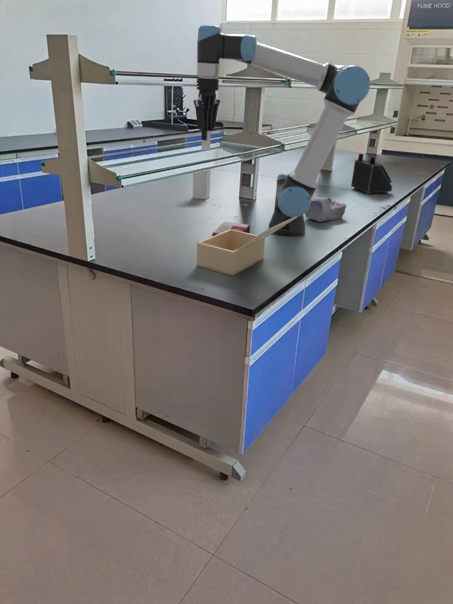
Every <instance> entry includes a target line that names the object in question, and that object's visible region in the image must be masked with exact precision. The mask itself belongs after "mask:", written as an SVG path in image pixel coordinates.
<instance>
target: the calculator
mask: <svg viewBox="0 0 453 604" xmlns="http://www.w3.org/2000/svg"><path fill="white" fill-rule="evenodd" d="M229 229H232V230H237V231H241V232H245V233H249V234H251V233H250V231H251V225H249V224H245V223H238V222H232V221H224V222H222V223H221V224H220V225H219V226H218V227H217V228H216V230H214V232H212V234H211V237H212V236H215V235H217V234H220V233H222V232H224V231H227V230H229Z"/></svg>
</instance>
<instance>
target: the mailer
mask: <svg viewBox="0 0 453 604" xmlns="http://www.w3.org/2000/svg"><path fill="white" fill-rule="evenodd" d="M258 235H259V234H252V233H250V234H249V233H245V232H241V231H237V230H232V229H229V230H227V231H224V232H222V233H220V234H217V235H215V236H212V235H211V237H207V238H205V239H203V240H201V241H198V242H197V243H196V267H199V268H201V269H206V270H209V271H213V272H216V273H218V274H219V273H220V274H224V275H226V276H230V277H234V276H236V275H237V274H240V273H242V272H243V271H245V270H246V269H248V268H251V267H252V266H253V265H255V264H257V263H259V262H261V261H263V260H264V255H265V254H264V253H265V243H266V238H265V239H262V240H260V241H258V242H256V243H254V244H252V245H250V246H248V247H246V248H244V249H242V250H240V251H238V252H236V253H235V252H234V251H236V250H237V249H239V248H240V247H242V246H243V245H245V244H246V243H248V242H249V241H251V240H252V239H254V238H255V237H257V236H258Z"/></svg>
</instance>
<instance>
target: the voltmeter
mask: <svg viewBox="0 0 453 604" xmlns="http://www.w3.org/2000/svg"><path fill="white" fill-rule="evenodd" d="M391 183H392V180H391V178H390V176H389V174H388V172H387V170H386V169H385V167H384V165H383V164H382V163H381V164H380V163H377V162H376V157H375V156H371V157H370V159H369V160H364V153H358V157H357V159H355V160H354V165H353V172H352V179H351V184H350V187H352V188H353V189H354V190H355V189H358V190H360V191H362V192H365V193H367V194H366V195H371V193H383V194H385V193H387V194H388V192H392V189H393V186H392V184H391Z"/></svg>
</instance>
